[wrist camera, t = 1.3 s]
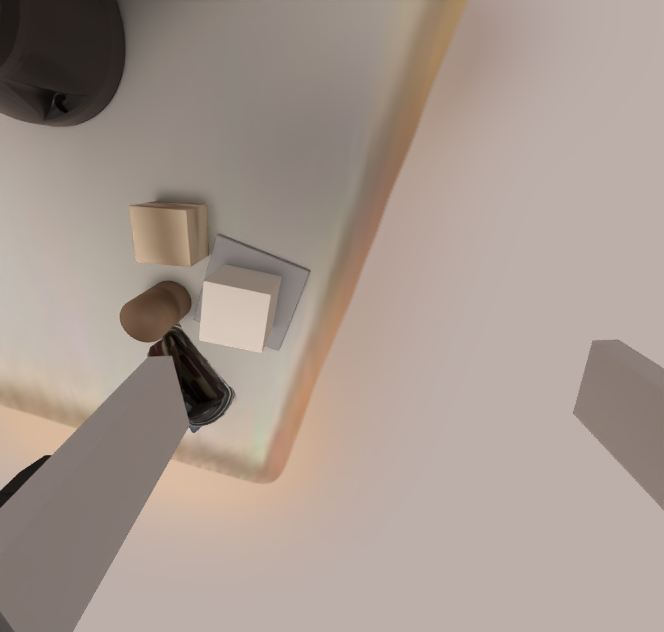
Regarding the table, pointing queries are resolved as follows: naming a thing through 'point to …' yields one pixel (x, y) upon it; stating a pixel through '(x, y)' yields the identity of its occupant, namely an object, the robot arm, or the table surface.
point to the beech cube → (169, 233)
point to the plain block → (239, 307)
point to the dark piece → (195, 378)
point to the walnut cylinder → (155, 311)
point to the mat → (263, 262)
